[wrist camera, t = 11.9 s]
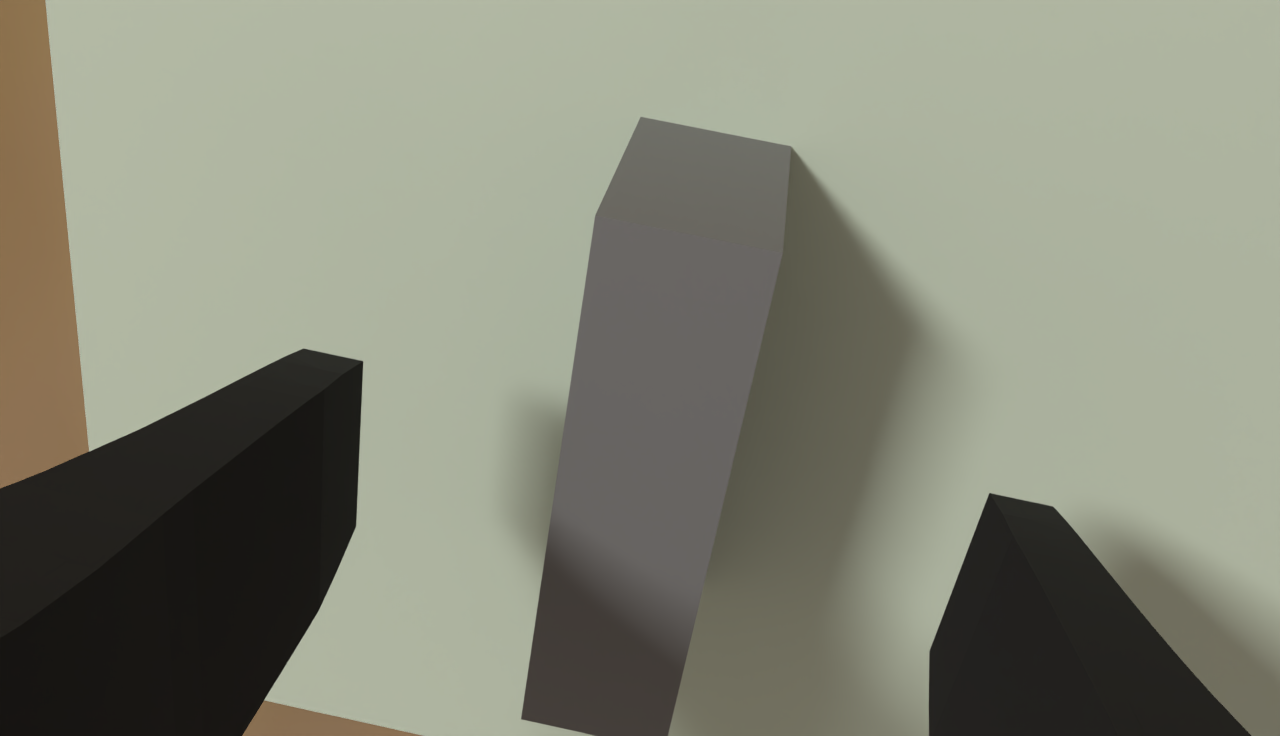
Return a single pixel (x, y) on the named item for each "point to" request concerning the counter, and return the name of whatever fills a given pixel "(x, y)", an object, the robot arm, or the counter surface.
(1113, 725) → the robot arm
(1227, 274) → the lid
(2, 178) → the counter surface
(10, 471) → the counter surface
